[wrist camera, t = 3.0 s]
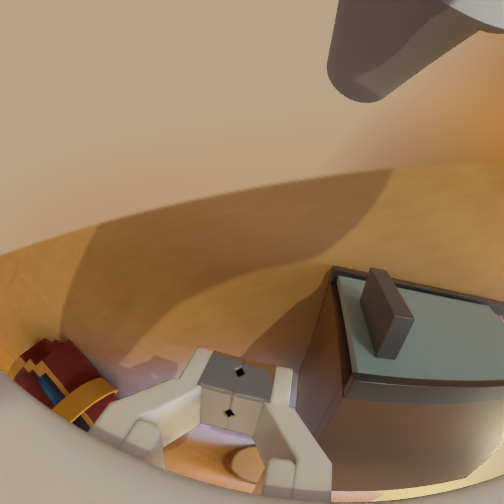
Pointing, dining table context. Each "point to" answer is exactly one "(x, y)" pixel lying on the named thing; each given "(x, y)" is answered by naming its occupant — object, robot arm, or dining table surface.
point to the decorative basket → (63, 382)
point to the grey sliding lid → (418, 332)
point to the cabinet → (393, 410)
